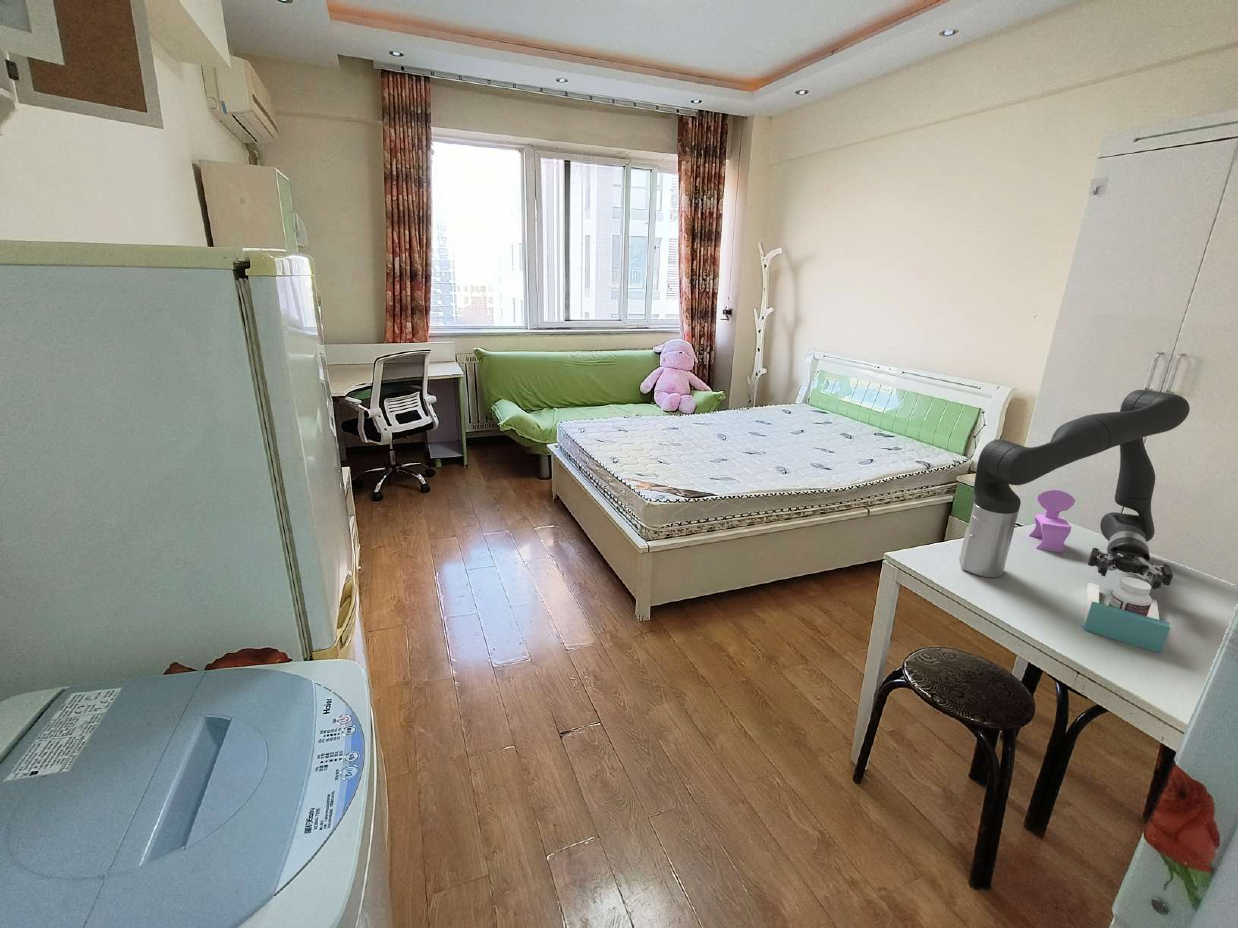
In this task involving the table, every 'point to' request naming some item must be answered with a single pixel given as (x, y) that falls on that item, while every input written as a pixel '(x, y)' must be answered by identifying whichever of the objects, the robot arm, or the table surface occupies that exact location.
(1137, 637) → the guide
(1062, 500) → the toy chair
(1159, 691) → the table surface
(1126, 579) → the pill bottle
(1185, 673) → the table surface
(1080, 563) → the table surface
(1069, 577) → the table surface
